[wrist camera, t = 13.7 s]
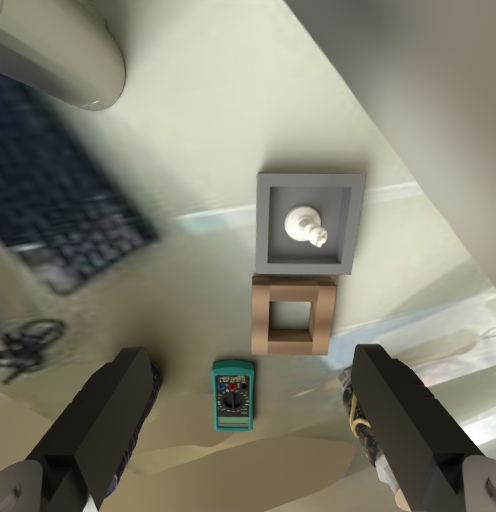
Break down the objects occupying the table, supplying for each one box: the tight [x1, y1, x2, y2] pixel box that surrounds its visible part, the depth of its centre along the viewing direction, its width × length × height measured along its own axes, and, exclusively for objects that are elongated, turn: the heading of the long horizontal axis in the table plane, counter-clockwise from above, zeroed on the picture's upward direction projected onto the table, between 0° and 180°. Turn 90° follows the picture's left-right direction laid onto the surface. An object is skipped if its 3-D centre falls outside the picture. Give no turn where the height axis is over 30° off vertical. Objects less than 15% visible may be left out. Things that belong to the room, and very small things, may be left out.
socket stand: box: [252, 277, 337, 355], centre depth 36 cm, size 12×12×3 cm
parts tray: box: [256, 173, 366, 275], centre depth 31 cm, size 13×13×4 cm
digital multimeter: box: [211, 360, 254, 431], centre depth 42 cm, size 7×15×3 cm, turn 179°
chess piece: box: [285, 206, 327, 247], centre depth 27 cm, size 5×5×10 cm
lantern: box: [338, 368, 411, 512], centre depth 29 cm, size 9×8×25 cm
